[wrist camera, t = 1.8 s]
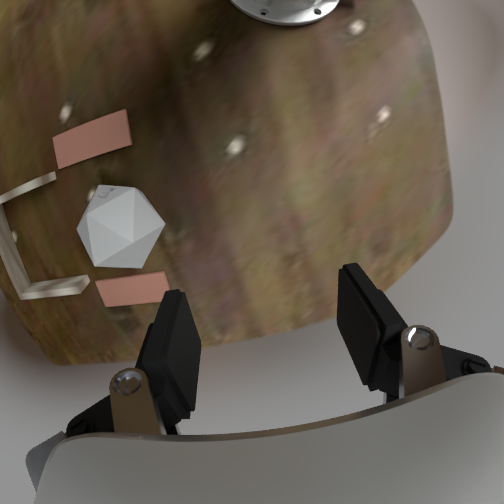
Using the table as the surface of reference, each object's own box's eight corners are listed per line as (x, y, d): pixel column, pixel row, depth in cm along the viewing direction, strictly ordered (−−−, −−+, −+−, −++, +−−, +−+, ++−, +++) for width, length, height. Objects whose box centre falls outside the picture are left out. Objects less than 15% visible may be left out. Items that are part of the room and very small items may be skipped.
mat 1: (126, 109, 24) (124, 109, 23) (132, 144, 26) (131, 144, 25) (54, 137, 24) (52, 137, 24) (60, 168, 26) (58, 169, 25)
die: (184, 203, 29) (133, 168, 20) (165, 281, 29) (105, 274, 19) (129, 196, 31) (75, 167, 22) (111, 264, 31) (51, 253, 21)
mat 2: (164, 270, 32) (163, 272, 32) (173, 298, 34) (172, 300, 33) (96, 280, 32) (94, 281, 32) (106, 305, 34) (105, 306, 34)
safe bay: (54, 171, 26) (40, 176, 23) (90, 281, 32) (80, 293, 29) (-4, 198, 26) (-17, 204, 23) (30, 289, 32) (20, 299, 30)
